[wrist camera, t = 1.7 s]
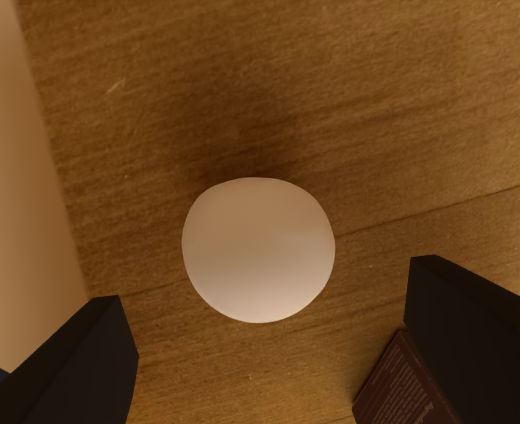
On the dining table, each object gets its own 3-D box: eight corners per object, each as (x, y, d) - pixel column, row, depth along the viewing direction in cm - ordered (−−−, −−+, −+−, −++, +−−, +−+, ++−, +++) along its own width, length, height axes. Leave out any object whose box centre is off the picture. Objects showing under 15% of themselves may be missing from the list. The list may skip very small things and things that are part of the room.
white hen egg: (336, 183, 14) (391, 251, 9) (280, 278, 15) (303, 374, 11) (218, 130, 12) (214, 179, 8) (171, 240, 14) (146, 332, 10)
